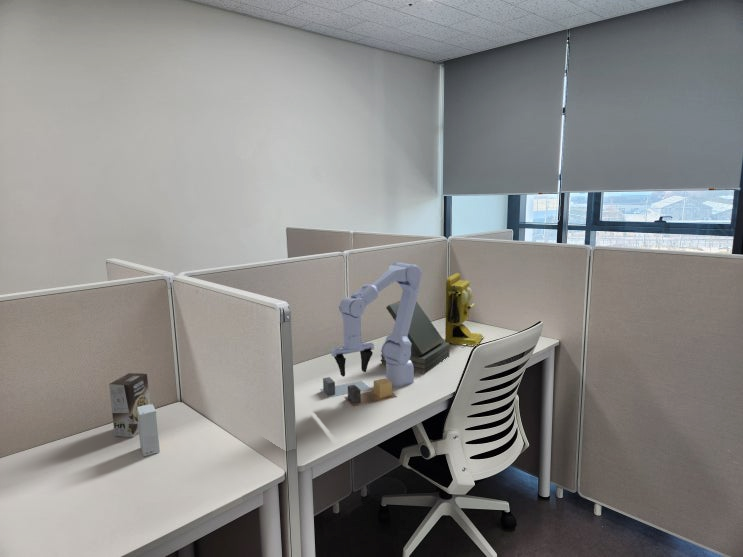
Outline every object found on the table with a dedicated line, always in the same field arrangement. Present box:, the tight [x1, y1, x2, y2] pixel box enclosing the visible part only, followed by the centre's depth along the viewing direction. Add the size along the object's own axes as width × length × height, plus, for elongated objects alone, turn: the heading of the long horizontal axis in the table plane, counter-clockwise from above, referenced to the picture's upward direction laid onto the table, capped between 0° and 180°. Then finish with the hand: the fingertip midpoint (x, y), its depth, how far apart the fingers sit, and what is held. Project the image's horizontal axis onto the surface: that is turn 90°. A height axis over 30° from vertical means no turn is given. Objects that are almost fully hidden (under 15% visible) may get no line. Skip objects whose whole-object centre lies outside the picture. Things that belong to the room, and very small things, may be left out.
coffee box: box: [108, 372, 151, 438], centre depth 144 cm, size 9×6×16 cm
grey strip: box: [319, 376, 372, 399], centre depth 170 cm, size 16×8×5 cm, turn 116°
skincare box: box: [137, 403, 161, 457], centre depth 133 cm, size 6×4×12 cm
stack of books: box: [380, 300, 450, 375], centre depth 198 cm, size 23×20×25 cm
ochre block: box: [373, 377, 393, 398], centre depth 165 cm, size 4×4×4 cm
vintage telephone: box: [444, 272, 484, 348], centre depth 222 cm, size 31×14×30 cm, turn 155°
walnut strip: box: [344, 385, 398, 407], centre depth 163 cm, size 16×8×5 cm, turn 116°
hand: (353, 373), depth 162 cm, fingers open, 7 cm apart
